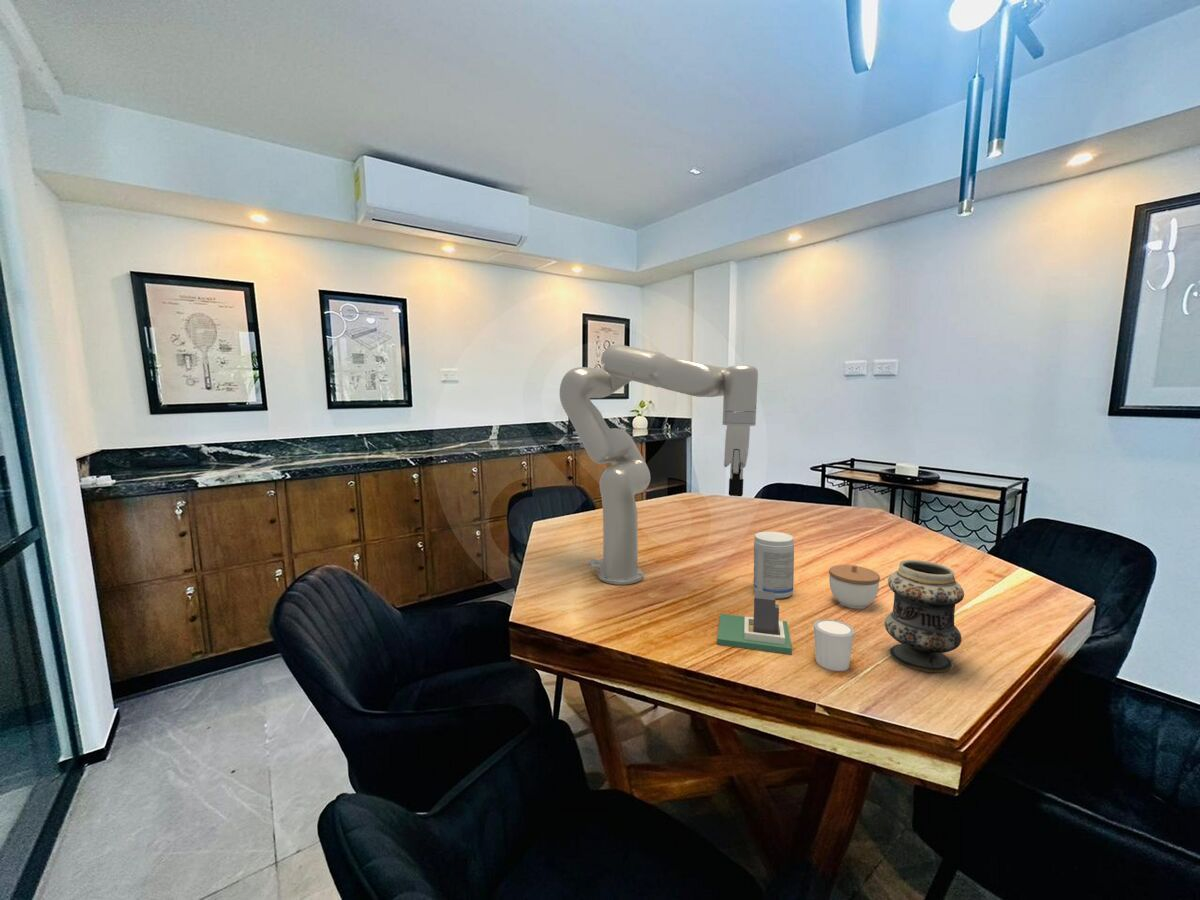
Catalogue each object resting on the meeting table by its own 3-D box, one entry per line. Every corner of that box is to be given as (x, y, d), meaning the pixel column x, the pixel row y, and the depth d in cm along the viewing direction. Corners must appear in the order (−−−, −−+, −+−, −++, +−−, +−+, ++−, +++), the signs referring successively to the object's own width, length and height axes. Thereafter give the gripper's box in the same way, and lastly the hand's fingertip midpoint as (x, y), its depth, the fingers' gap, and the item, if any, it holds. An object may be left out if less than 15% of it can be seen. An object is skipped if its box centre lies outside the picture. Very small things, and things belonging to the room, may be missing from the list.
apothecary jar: (969, 662, 90) (976, 568, 89) (943, 684, 84) (950, 583, 82) (899, 637, 100) (904, 552, 98) (870, 655, 93) (875, 564, 91)
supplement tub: (801, 594, 122) (803, 537, 121) (777, 603, 117) (778, 543, 116) (768, 582, 130) (770, 528, 129) (745, 590, 125) (746, 534, 124)
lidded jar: (837, 591, 124) (839, 555, 123) (884, 603, 117) (886, 565, 116) (820, 603, 117) (822, 565, 116) (869, 617, 109) (871, 577, 108)
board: (717, 644, 98) (717, 632, 98) (720, 618, 109) (720, 607, 109) (791, 654, 94) (792, 641, 93) (786, 626, 105) (787, 615, 105)
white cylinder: (805, 654, 94) (806, 619, 93) (839, 652, 94) (840, 617, 94) (824, 674, 87) (826, 636, 86) (861, 671, 88) (862, 634, 87)
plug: (753, 635, 99) (754, 597, 98) (753, 627, 102) (754, 590, 101) (778, 639, 97) (779, 600, 96) (777, 630, 101) (778, 593, 100)
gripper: (725, 417, 123) (722, 488, 125) (720, 420, 109) (716, 500, 111) (756, 418, 120) (752, 490, 123) (755, 421, 106) (751, 503, 108)
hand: (735, 495), depth 117 cm, fingers closed
